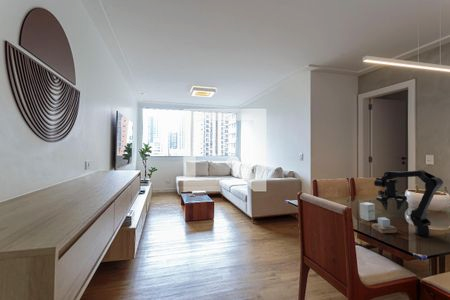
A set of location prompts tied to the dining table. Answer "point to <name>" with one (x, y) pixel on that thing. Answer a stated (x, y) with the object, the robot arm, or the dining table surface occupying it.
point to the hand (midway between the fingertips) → (392, 210)
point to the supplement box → (367, 211)
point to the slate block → (384, 222)
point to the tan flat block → (384, 228)
